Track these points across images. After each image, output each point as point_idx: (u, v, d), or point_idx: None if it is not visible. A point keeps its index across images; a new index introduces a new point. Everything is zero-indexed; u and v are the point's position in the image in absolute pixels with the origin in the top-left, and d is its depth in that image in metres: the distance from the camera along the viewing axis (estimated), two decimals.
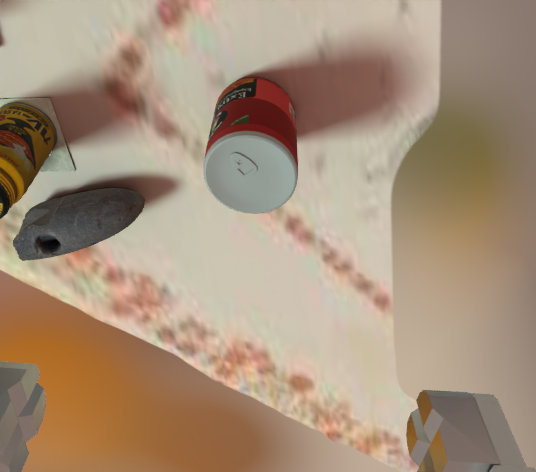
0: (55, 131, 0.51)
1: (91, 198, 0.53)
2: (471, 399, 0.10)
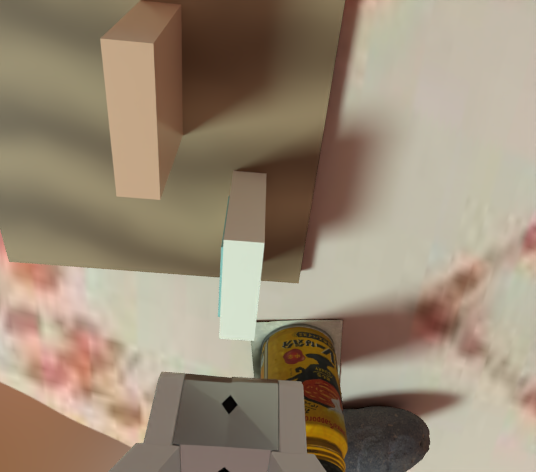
0: None
1: (368, 429, 0.42)
2: (275, 385, 0.10)
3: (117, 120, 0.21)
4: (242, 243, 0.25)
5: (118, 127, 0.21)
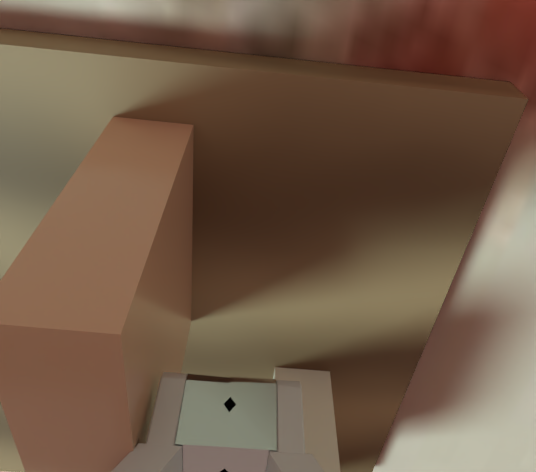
0: None
1: None
2: (273, 385, 0.10)
3: (40, 455, 0.09)
4: None
5: (44, 464, 0.09)
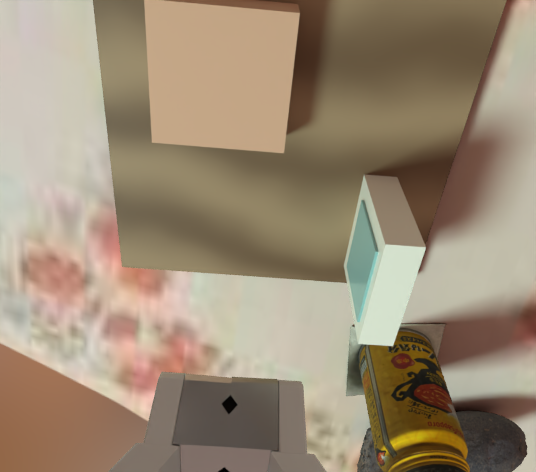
0: None
1: (465, 434, 0.42)
2: (275, 385, 0.10)
3: None
4: (403, 247, 0.24)
5: None
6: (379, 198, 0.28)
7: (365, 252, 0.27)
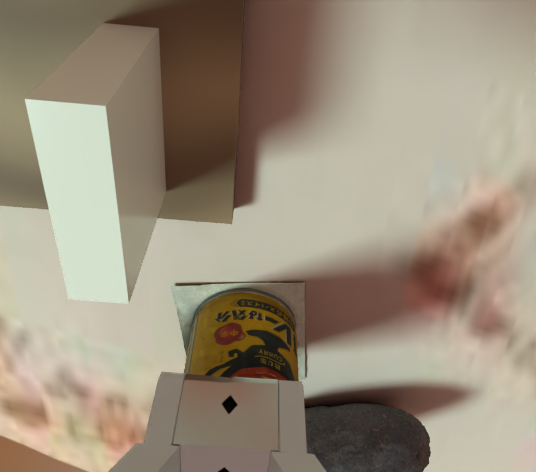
0: (295, 329, 0.29)
1: (345, 435, 0.31)
2: (275, 385, 0.10)
3: None
4: (63, 106, 0.13)
5: None
6: (94, 47, 0.16)
7: None
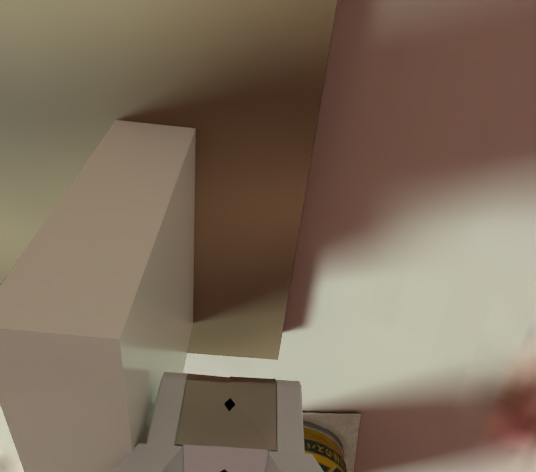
0: None
1: None
2: (273, 385, 0.10)
3: None
4: (42, 338, 0.07)
5: None
6: (101, 174, 0.10)
7: None
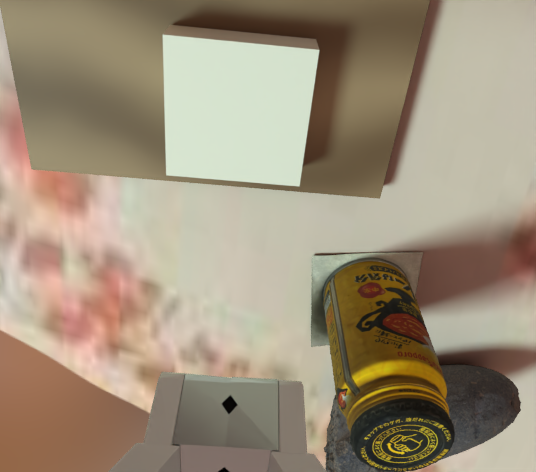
0: None
1: (448, 387, 0.36)
2: (275, 385, 0.10)
3: None
4: (167, 31, 0.23)
5: None
6: (260, 36, 0.24)
7: None
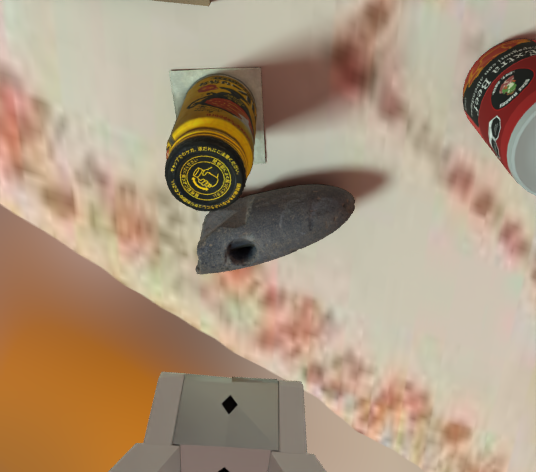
0: (255, 111, 0.41)
1: (293, 195, 0.43)
2: (275, 385, 0.10)
3: None
4: None
5: None
6: None
7: None
